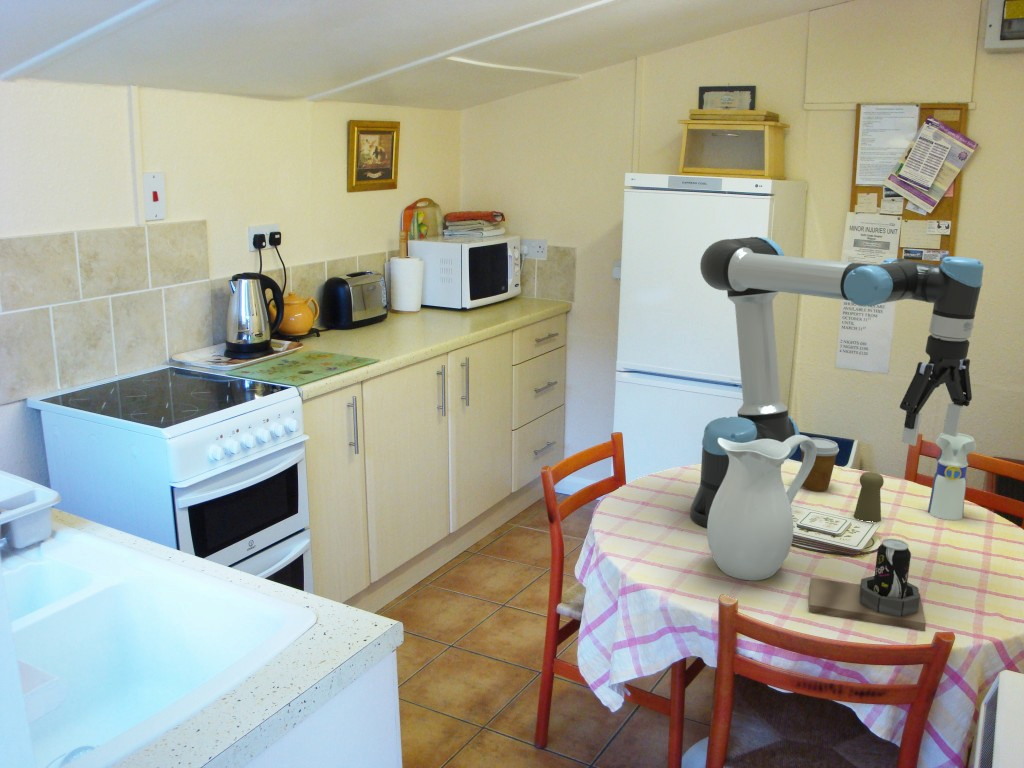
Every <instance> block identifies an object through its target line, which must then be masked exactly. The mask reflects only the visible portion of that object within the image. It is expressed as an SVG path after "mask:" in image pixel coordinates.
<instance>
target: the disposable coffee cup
mask: <svg viewBox="0 0 1024 768" xmlns="http://www.w3.org/2000/svg"><path fill="white" fill-rule="evenodd" d="M809 438H810V439H812V440H813V441H814V443H815V445H816V450H817V453H816V459H815V462H814V465H813V467H812V469H811V471H810V473H809V474H808V476H807V478H806V480H805V481H804V483H803V484H802V487H803V488H804V489H806V490H808V491H813V492H826V491H828V490H829V487H830V483H831V478H832V474H833V471H834V467H835V463H836V459H837V455H838V453H839V451H840V449H839V445H838V443H837V442H836V441H834V440H831V439H827V438H824V437H823V438H822V437H809ZM799 448H800V450H801V463H802V462H803V459H804V453H805V447H804V444H803V443H802V444H799Z"/></svg>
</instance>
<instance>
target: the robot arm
mask: <svg viewBox="0 0 1024 768" xmlns="http://www.w3.org/2000/svg"><path fill="white" fill-rule="evenodd" d="M699 264H700V265H699V266H700V268H699V269H700V274H701V276H702V278H703V280H704V281H705V282H706V284H707V285H708V286H710V287H712V288H713V289H715V290H718V291H726V292H727V293H726V294H727V299H728V300H730V301H731V302H732V303H733V304H734V310H735V311H734V312H735V321H736V333H737V345H738V355H739V356H738V357H739V368H740V382H741V391H742V392H741V393H742V402H743V403H742V405H741V406H740V408H738V410H737V412H736V413H737V416H729V417H726V416H724V417H719V418H716V419H713V420H711V421H710V422H708V423H707V424H706V426H705V427H704V431H703V437H702V441H701V442H702V443H701V444H702V449H701V465H700V466H701V467H700V470H701V471H700V481H699V482H700V483H699V486H698V488H697V489H698V490H697V492H696V494H695V496H694V499H693V501H692V503H691V507H690V518H691V520H692V522H694V523H696V524H697V525H699V526H701V527H703V528H707V523H708V516H709V512H710V508H711V505H712V503H713V500H714V498H715V495H716V493H717V491H718V489H719V488H720V486H721V484H722V482H723V480H724V478H725V476H726V473H727V470H728V466H729V457H728V455H727V453H726V452H725V451H724V450H723V449H722V448H721V447H720V446H719V445H718V441H717V440H718V438H723V439H726V440H728V441H732V442H737V443H747V442H751V441H755V440H759V439H773V440H777V441H780V442H784V441H785V440H786V439H788V438H790V437H792V436H794V435H800V430H799V427H798V425H797V422H795V421H794V418H793V417H791V416H790V415H789V410H788V409H789V408H788V406H786V405H785V404H784V403H783V402H782V401H781V393H780V382H779V379H780V378H779V368H778V355H777V354H778V353H777V342H776V341H777V340H776V328H775V317H774V316H775V315H774V304H773V301H774V299H775V298H776V297H777V296H778V294H779V293H787V294H795V295H803V296H813V297H819V298H829V299H836V300H843V301H850V302H851V303H853V304H855V305H858V306H861V307H862V306H865V307H867V306H869V307H872V306H874V307H875V306H877V305H879V304H886V303H891V302H897V301H903V300H913V301H919V302H920V301H921V302H926V303H930V304H933V309H932V314H931V318H930V323H929V328H928V332H929V333H930V335H928V336H927V339H926V340H927V342H926V346H925V350H924V351H925V353H926V354H927V355H928V356H929V360H928V363H926V362H922V361H919V362H917V366H916V368H915V369H916V370H915V373H914V375H913V377H912V380H911V382H910V383H909V386H908V388H907V390H906V392H905V394H904V397H903V398H902V400H901V401H900V402H901V403H900V404H899V409H901V410H902V411H905V412H906V413H905V420H904V424H903V425H904V427H903V433H902V438H901V443H905V444H908V445H910V446H913V447H914V446H915V447H916V445H917V441H918V437H919V431H920V424H921V419H922V413H920V411H921V410H922V409H923V407H924V406H925V404H926V403H927V401H928V400H929V398H930V397H931V395H932V393H933V392H934V391H935V389H936V388H939V387H940V386H941V385H944V384H945V387H946V390H947V392H948V395H949V398H950V400H951V402H948V403H947V404H948V405H947V409H946V413H945V418H944V420H945V421H944V424H943V429H942V433H945V434H947V435H950V436H953V437H957V433H959V428H960V424H959V423H960V422H961V417H962V412H963V407H964V406H965V407H969V406H970V402H971V401H972V398H973V396H972V387H971V378H970V377H971V376H970V363H971V359H969V358H967V357H968V354H969V353H968V352H969V349H970V348H969V347H970V343H971V342H970V341H969V338H971V337H972V331H973V329H974V320H975V316H976V311H977V305H978V301H979V297H980V292H981V288H982V286H983V276H984V275H983V274H984V267H985V265H984V263H983V262H982V260H979V259H977V258H971V257H963V256H944V257H943V258H942V260H941V263H940V264H931V263H928V262H920V261H914V260H909V259H906V258H895V257H894V258H892V257H890V258H889V257H888V258H886V259H884V260H883V262H881V263H880V264H872V263H861V262H859V263H858V262H849V261H840V260H827V259H817V258H809V257H807V258H806V257H797V256H790V255H789V256H788V255H785V253H784V251H783V249H782V247H781V246H780V245H779V244H777V243H776V242H775V241H774V240H772V239H771V238H767V237H760V236H759V237H758V236H749V237H739V238H727V239H720V240H718V241H714V242H713V243H712V244H710V245H709V246H707V248H706V249H705V250H704V251H703V254H702V256H701V259H700V263H699ZM798 447H799V445H797V446H795V447H794V448H793V449H792V450H791V452H790V454H789V455H788V456H787V457H786V458H785V460H784V461H787V460H788V459H790V458H791V457H793V455H794V454H795V452H796V451H797V449H798Z"/></svg>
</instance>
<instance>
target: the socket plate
mask: <svg viewBox="0 0 1024 768" xmlns="http://www.w3.org/2000/svg"><path fill="white" fill-rule="evenodd" d="M809 581H810V582H809V593H808V594H809V597H808V598H809V599H808V613H814V614H820V615H824V616H825V615H827V616H831V617H832V616H833V617H839V618H844V619H851V620H858V621H862V622H870V623H875V624H880V625H881V624H882V625H888V626H893V627H899V628H907V629H913V630H919V631H925V630H926V626H927V625H926V624H927V623H926V617H925V611H924V608H923V602H922V597H921V593H920V592H919V591H920V589H919V587H918V586H917V585H914V584H912V583H910V582H908V581H907V589H906V596H905V598H903V599H898V598H892V597H885V596H881V595H879V594H877V593H875V592H873V583H874V575H872V576H868V577H864V578H861V580H860V584H856V583H851V582H844V581H839V580H833V579H832V580H830V579H825V578H819V577H810V580H809Z"/></svg>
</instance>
